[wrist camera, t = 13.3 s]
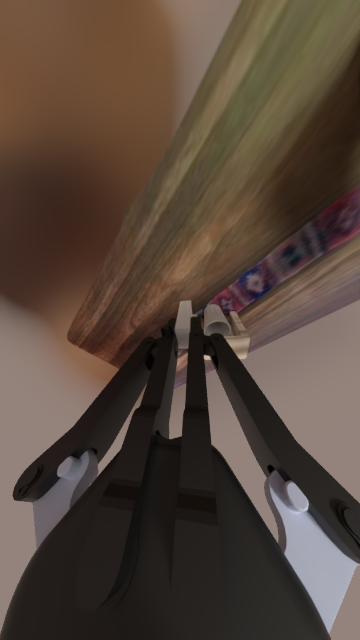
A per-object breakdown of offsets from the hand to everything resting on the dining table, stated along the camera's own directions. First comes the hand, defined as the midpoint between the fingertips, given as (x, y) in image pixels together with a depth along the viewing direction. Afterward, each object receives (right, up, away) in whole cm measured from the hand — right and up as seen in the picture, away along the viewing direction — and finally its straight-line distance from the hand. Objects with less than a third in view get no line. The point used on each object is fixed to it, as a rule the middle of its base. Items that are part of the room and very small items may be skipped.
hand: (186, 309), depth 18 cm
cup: (+11, +2, +30) cm, 32 cm away
